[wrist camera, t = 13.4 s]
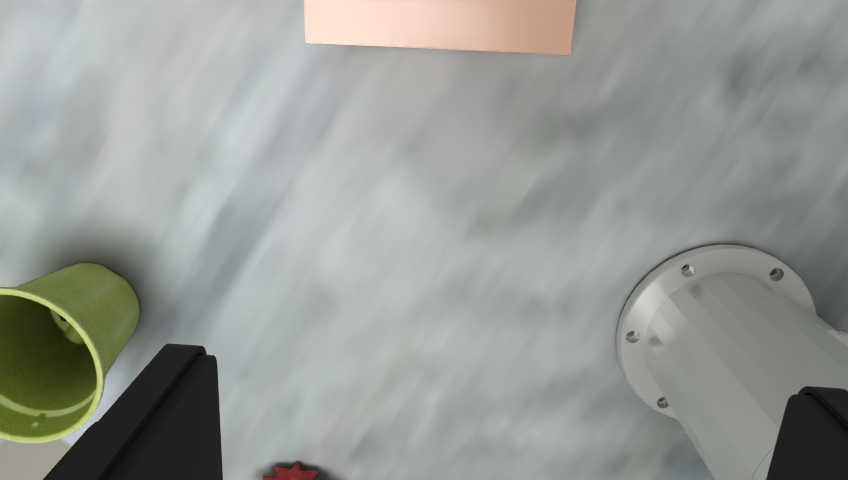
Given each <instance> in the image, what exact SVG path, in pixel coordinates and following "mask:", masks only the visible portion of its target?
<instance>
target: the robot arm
mask: <svg viewBox="0 0 848 480" xmlns="http://www.w3.org/2000/svg"><path fill="white" fill-rule="evenodd" d="M686 264H687V266H686V267H685V268H683V269H682V267H683V266H684V265H686ZM630 331H632V332H631V333H629V332H630ZM627 333H629V334H627ZM616 351H617V355H618V360H619V364H620V367H621V369H622V371H623V373H624V376H625V378H626V380H627V381H628V383H629V384H630V386H631V388H632V389H633V391H634V392H635V393H636V394H637V395H638V396H639V397H640V398H641V399H642V401H643V402H644V403H645V404H647V405H648V406H650V407H651V408H653V409H654V410H655V411H657V412H659V413H661V414H664V415H666V416H668V417H671V418H673V419H677V420H679V422H680V424H681V425H682V427H683V429H684V430H685V432H686V434H687V435H688V437H689V439H690V440H691V442H692V443H693V445H694V447H695V448H696V450H697V452H698V453H699V455H700V457H701V458H702V460H703V462H704V463H705V465H706V467H707V468H708V470H709V472H710V473H711V475H712V477H713V478H714V480H848V330H842V331H836V330H835V329H834V328H832V327H831V326H830V325H828V324H827V323H826V322H825V321H823V320H822V319H821V318H819V317H818V316H817V315H816V307H815V305H814V302H813V299H812V296H811V294H810V291H809V290H808V288H807V287H806V285H805V284H804V282H803V281H802V279H801V278H800V277H799V276H798V275H797V274H796V273H795V272H794V271H793V270H792V269H791V268H789V267H788V266H787V265H786V264H784V263H783V262H781V261H780V260H778V259H777V258H775V257H773V256H771V255H769V254H767V253H765V252H763V251H760V250H758V249H754V248H750V247H745V246H741V245H722V244H721V245H714V246H706V247H700V248H697V249H694V250H691V251H687V252H684V253H682V254H680V255H678V256H676V257H674V258H672V259H670V260H668V261H666V262H664V263H663V264H662V265H660V266H659V267H658V268H656V269H655V270H653V271H652V272H651V273H649V274H648V276H647V277H646V278H645V279H644V280H643V281H642V282H641V283H640V284H639V285H638V286H637V287H636V288H635V290H634V291H633V293H632V294H631V296H630V297H629V299H628V300H627V302H626V304H625V307H624V309H623V311H622V314H621V316H620V319H619V323H618V328H617V333H616ZM43 480H223V474H222V454H221V433H220V413H219V392H218V372H217V360H216V357H215V356H214V355H207V354H206V350H205V348H204V347H203V346H196V345H181V344H166V345H165V346H164V347H163V348H162V349H161V350H160V351H159V352H158V354H157V355H156V356H155V357H154V358H153V359H152V360H151V362H150V363H149V364H148V365H147V366H146V367H145V368H144V370H143V371H142V372H141V373H140V374H139V375H138V376H137V378H136V379H135V380H134V381H133V382H132V383H131V384H130V386H129V387H128V388H127V389H126V390H125V391H124V392H123V394H122V395H121V396H120V397H119V398H118V399H117V400H116V402H115V403H114V404H113V405H112V406H111V407H110V408H109V410H108V411H107V412H106V413H105V414H104V415H103V416H102V418H101V419H100V420H99V421H98V422H95V423H94V424H93V425H91V426H90V427H89V428H88V429H87V430H86V431H85V433H84V434H83V435H82V436H81V437H80V438H79V439H78V440H77V442H76V443H75V444H74V445H73V446H72V447H71V448H70V449H69V451H68V452H67V453H66V454H65V455H64V456H63V457H62V459H61V460H60V461H59V462H58V463H57V464H56V465H55V467H54V468H53V469H52V470H51V471H50V472H49V473H48V474H47V476H46V477H45V478H44V479H43Z"/></svg>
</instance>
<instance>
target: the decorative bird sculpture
mask: <svg viewBox="0 0 848 480" xmlns="http://www.w3.org/2000/svg"><path fill="white" fill-rule="evenodd" d="M274 470H275V473H276V475H275V476H274V477H267V476H263V480H314V479H315V477H316V476H317V475H318V474H319V472H318V471H315V470H308V471H304V470H301V468H300V463H299V462H298V461H297V462H296V463H295V464H294V466H293V467H292V469H285V468H282V467H274Z"/></svg>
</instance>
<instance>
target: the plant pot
mask: <svg viewBox="0 0 848 480" xmlns="http://www.w3.org/2000/svg"><path fill="white" fill-rule="evenodd" d="M60 315H61V316H62V317H63V318H65V319H66V321H63V320H62V319H61V317H60ZM139 315H140V311H139V303H138V299H137V297H136V294H135V292H134V291H133V289H132V287H131V286H130V284H129V283H128V282H127V281H126V280H125V279H124V278H123V277H120V276H118V275H116V274H115V273H113V272H111V271H110V270H108V269H107V268H105V267H104V266H102V265H98V264H93V263H78V264H74V265H71V266H68V267H66V268H63V269H60V270H58V271H55V272H53V273H50V274H48V275H45V276H43V277H40V278H38V279H35V280H33V281H30V282H27V283H24V284H22V285H19V286H17V287H0V438H3V439H7V440H10V441H15V442H23V443H43V442H49V441H53V440H57V439H60V438H63V437H65V436H68V435H69V434H71V433H73V432H75V431H76V430H78V429H79V428H80V427H82V426H83V425H84V424H85V423H86V422H87V421H88V420H89V419H90V417H91V416H92V415H93V413H94V412H95V410H96V409H97V407H98V405H99V403H100V401H101V398H102V395H103V391H104V383H105V378H106V374H107V373H108V371H109V370H110V368H111V366H112V365H113V363H114V362H115V360H116V358H117V357H118V355H119V354H120V352H121V351H122V349H123V347H124V346H125V344H126V343H127V341H128V340H129V338H130V337H131V335H132V334H133V332H134V330H135V328H136V326H137V324H138V321H139Z"/></svg>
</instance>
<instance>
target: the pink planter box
mask: <svg viewBox="0 0 848 480" xmlns="http://www.w3.org/2000/svg"><path fill="white" fill-rule="evenodd" d="M576 1H577V0H304V2H305V43H319V44H341V45H363V46H385V47H408V48H430V49H452V50H474V51H496V52H518V53H540V54H562V55H571V46H572V37H573V28H574V19H575V10H576Z"/></svg>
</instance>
